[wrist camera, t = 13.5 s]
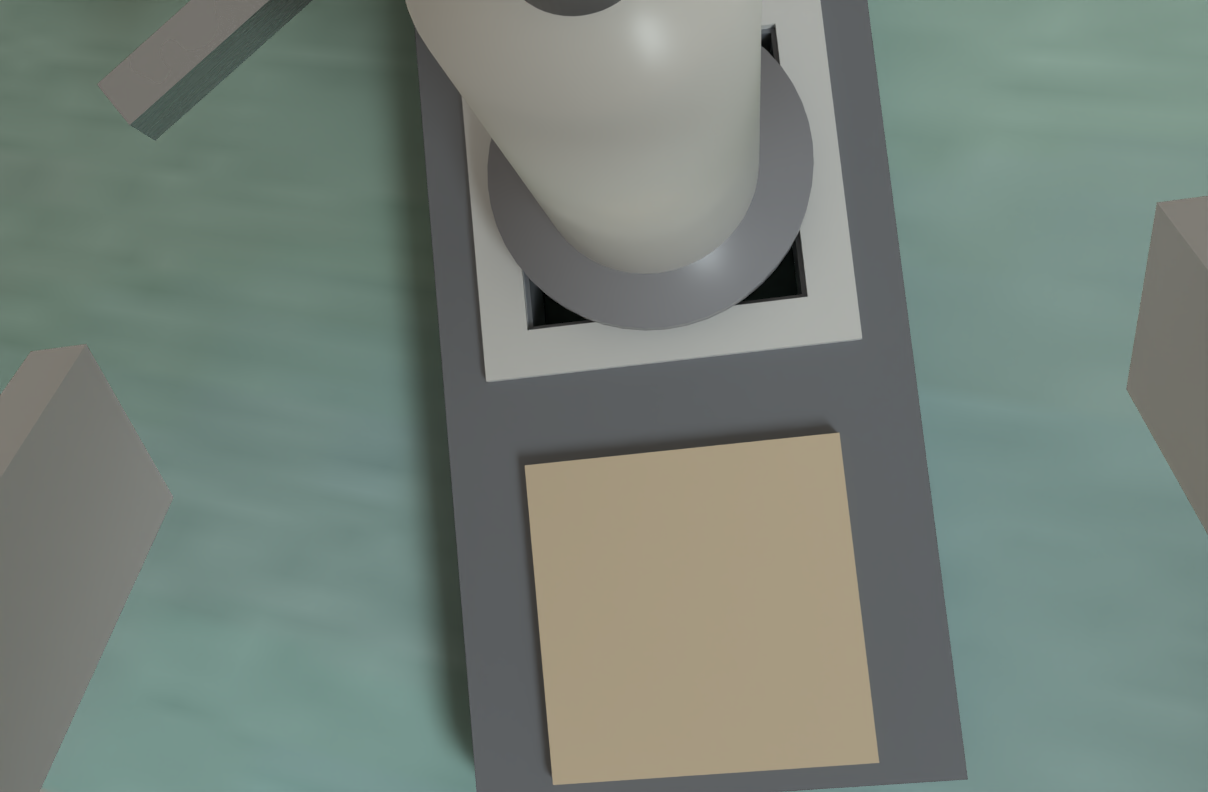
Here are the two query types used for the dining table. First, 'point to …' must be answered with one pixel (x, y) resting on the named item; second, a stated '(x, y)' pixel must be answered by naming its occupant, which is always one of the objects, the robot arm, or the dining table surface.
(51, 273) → the dining table surface
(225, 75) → the clip
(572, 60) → the plug
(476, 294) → the grey slotted tray
